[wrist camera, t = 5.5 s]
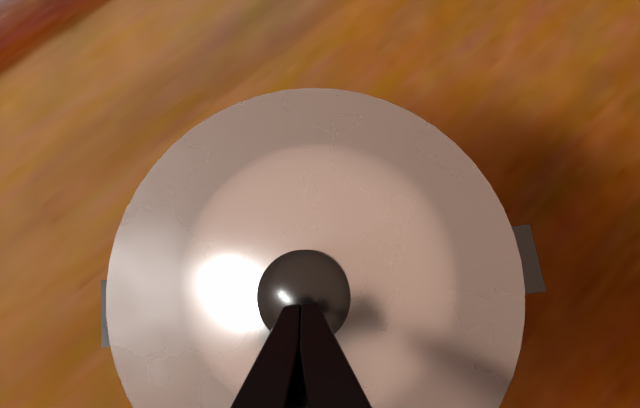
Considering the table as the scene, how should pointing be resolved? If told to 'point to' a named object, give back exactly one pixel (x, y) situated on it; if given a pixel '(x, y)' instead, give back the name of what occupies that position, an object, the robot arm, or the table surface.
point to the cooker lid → (316, 256)
